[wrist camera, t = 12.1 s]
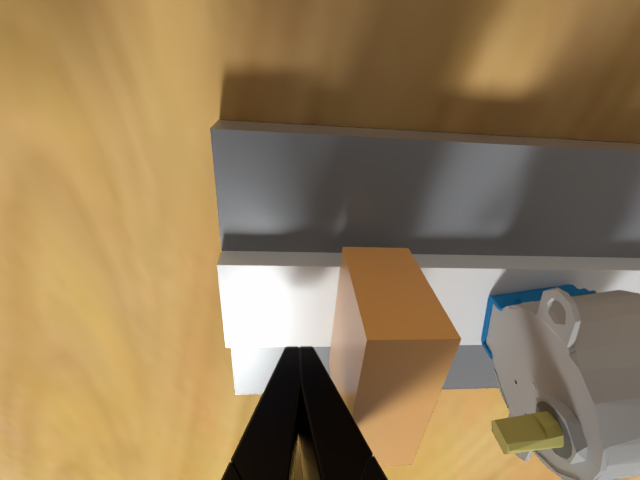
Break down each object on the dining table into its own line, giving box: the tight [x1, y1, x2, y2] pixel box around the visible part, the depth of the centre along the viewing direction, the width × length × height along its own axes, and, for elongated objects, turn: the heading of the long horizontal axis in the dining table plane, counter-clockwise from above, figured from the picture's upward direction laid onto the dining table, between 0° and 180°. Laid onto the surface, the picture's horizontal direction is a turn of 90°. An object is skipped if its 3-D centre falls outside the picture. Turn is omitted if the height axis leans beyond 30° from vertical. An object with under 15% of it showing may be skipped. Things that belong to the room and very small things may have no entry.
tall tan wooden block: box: [329, 247, 461, 467], centre depth 10 cm, size 2×5×4 cm, turn 176°
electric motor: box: [481, 284, 640, 480], centre depth 10 cm, size 7×5×5 cm
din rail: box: [210, 120, 640, 395], centre depth 11 cm, size 18×11×4 cm, turn 86°
